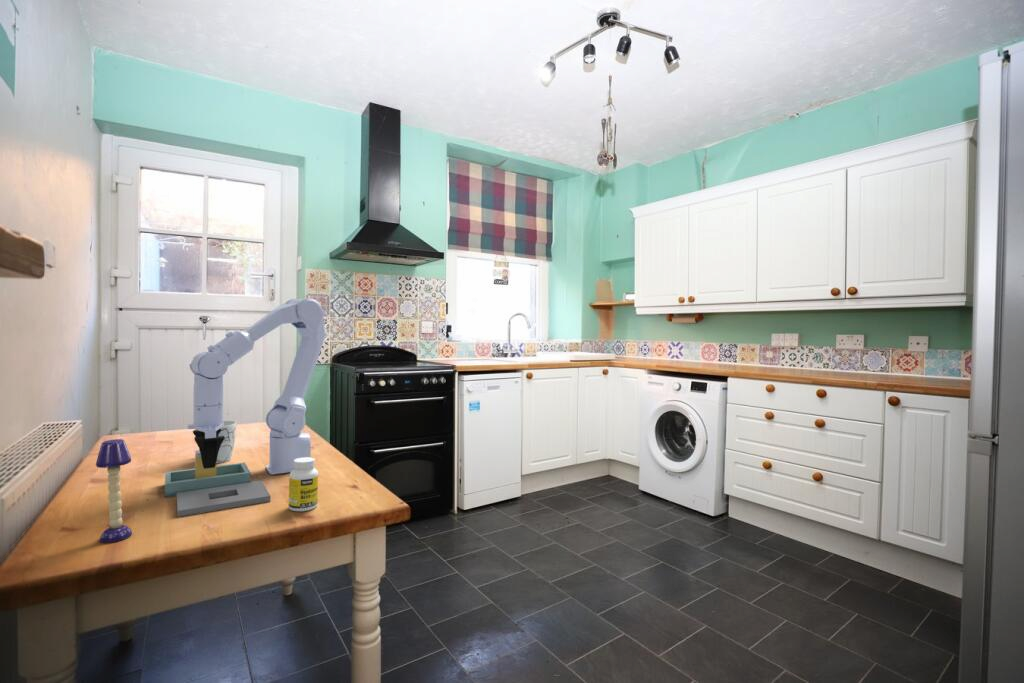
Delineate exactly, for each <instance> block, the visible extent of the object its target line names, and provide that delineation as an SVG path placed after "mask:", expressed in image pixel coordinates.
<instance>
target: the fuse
mask: <svg viewBox="0 0 1024 683" xmlns="http://www.w3.org/2000/svg"><path fill="white" fill-rule="evenodd" d="M194 453H195V454H194V463H195V464H194V466H195V467H194V469H195V479H198V478H206V477H213V476H216V466H217V464H216V465H215V467H214V468H207V469H204V467H203V464H202V459H201V453H200V450H199V449H198V450H195V451H194Z"/></svg>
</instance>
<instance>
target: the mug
mask: <svg viewBox="0 0 1024 683" xmlns="http://www.w3.org/2000/svg"><path fill="white" fill-rule="evenodd" d="M223 422H224V426H223V427H222V428H221V431H220V433H219V435H218V436H224V437H225V438H224V441H223V442H222V444H221V446H220V449H219V452H218V456H217V461H216V464H222V463H226V462H229V461H231V460H232V457H233V451H234V446H235V441H236V431H237V430H236V429H237V422H236V421H233V420H223Z"/></svg>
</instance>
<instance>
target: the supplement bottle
mask: <svg viewBox="0 0 1024 683" xmlns="http://www.w3.org/2000/svg"><path fill="white" fill-rule="evenodd" d="M293 466H294V468H295V469H294V470H293V471H291V472H289V477H288V478H289V479H288V480H289V481H288V482H289V483H288V487H289V488H288V508H289V510H290V511H293V512H306V511H311V510H313V509H315V508H316V507H317V506H318V500H319V495H318V493H319V471H318V470H317V469H316V468H315V466H316V459H315V458H314V457H303V458H297V459H295V460H294V465H293Z"/></svg>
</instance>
